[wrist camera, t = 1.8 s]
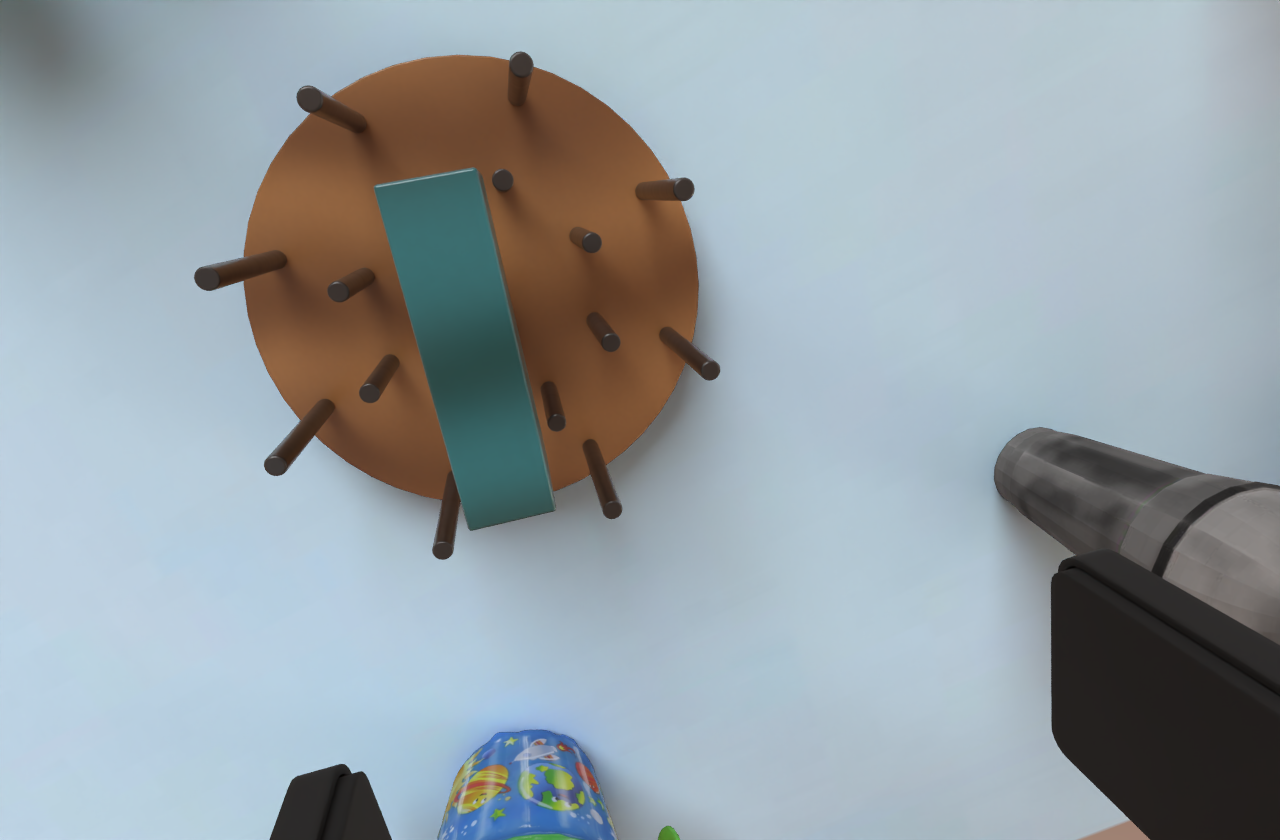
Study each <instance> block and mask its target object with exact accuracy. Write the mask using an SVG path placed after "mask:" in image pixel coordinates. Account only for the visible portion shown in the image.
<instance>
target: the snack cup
mask: <svg viewBox="0 0 1280 840" xmlns="http://www.w3.org/2000/svg"><path fill="white" fill-rule="evenodd" d="M380 811H381V810H380ZM438 840H618V838H617V835H616V832H615V829H614V826H613V823H612V820H611V817H610V814H609V811H608V809H607V806H606V805H605V803H604V799H603V794H602V791H601V788H600V785H599V783H598V781H597V779H596V776H595V774H594V770H593V767H592V765H591V763H590V761H589V759H588V758H587V756H586V755H585V753H583V752H582V750H581V749H580V748H579V747H578V746H577V744H576V742H575V741H574V740H573V739H571V738H569V737H567V736H565V735H556V734H554V733H552V732H550V731H545V730H525V731H521V732H516V733H515V732H499V733H497V734H495V735H494V736H493V737H492V739H491V740H490V741H489V742H488V743H486V744H485V745H483V746H482V747H480V748H479V749H478V750H476V751H475V752H474V753H473V754H472V756H471V757H470V758H469V759H468V760H467V761H466V762H465V764H464V765H463V766H462V768H461V769H460V770H459V772H458V774H457V776H456V778H455V781H454V783H453V787H452V790H451V794H450V797H449V801H448V804H447V807H446V811H445V814H444V817H443V821H442V825H441V829H440V831H439V835H438ZM658 840H680V838H679V836H678V834H677V833H676V831H675V830H674V828H672V827H671V826H666V827H664V828H663V829H662V830H661V832H660V834H659V837H658Z"/></svg>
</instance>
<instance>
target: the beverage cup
mask: <svg viewBox="0 0 1280 840" xmlns="http://www.w3.org/2000/svg"><path fill="white" fill-rule="evenodd" d="M994 480H995V483H996V487H997V490H998V491H999V493H1000V494H1001V495H1002V497H1003V498H1005V499H1006V500H1008V501H1010V502H1011V504H1012V505H1014V506H1015V507H1016V508H1017V509H1018V510H1019V511H1020V513H1022V514H1023V515H1024V516H1026V517H1027V518H1028V519H1030V520H1031V521H1032V522H1034V523H1035V524H1036V525H1037V526H1039V527H1040V528H1041V529H1043V530H1044V531H1045V532H1047V533H1048V534H1049V535H1051V536H1052V537H1053V538H1054V539H1056V540H1057V541H1058V542H1060V543H1061V544H1062V545H1064V546H1065V547H1066V548H1068V549H1069V550H1070V551H1071V552H1073V553H1074V554H1075V555H1081V554H1084V553H1088V552H1091V551H1095V550H1099V549H1110V550H1113V551H1115V552H1117V553H1119V554H1121V555H1122V556H1124V557H1126V558H1128V559H1129V560H1131V561H1133V562H1135V563H1136V564H1138V565H1140V566H1142V567H1143V568H1145V569H1147V570H1149V571H1150V572H1152V573H1154V574H1156V575H1158V576H1159V577H1161V578H1163V579H1165V580H1166V581H1168V582H1170V583H1172V584H1173V585H1175V586H1177V587H1179V588H1180V589H1182V590H1184V591H1186V592H1187V593H1189V594H1191V595H1193V596H1194V597H1196V598H1198V599H1200V600H1201V601H1203V602H1205V603H1207V604H1208V605H1210V606H1212V607H1214V608H1215V609H1217V610H1219V611H1221V612H1222V613H1224V614H1226V615H1228V616H1229V617H1231V618H1233V619H1235V620H1237V621H1238V622H1240V623H1242V624H1244V625H1245V626H1247V627H1249V628H1251V629H1252V630H1254V631H1256V632H1258V633H1259V634H1261V635H1263V636H1265V637H1266V638H1268V639H1270V640H1272V641H1273V642H1275V643H1277V644H1279V645H1280V486H1278V485H1272V484H1266V483H1260V482H1251V481H1245V480H1240V479H1235V478H1229V477H1224V476H1218V475H1212V474H1205V473H1202V472H1198V471H1195V470H1191V469H1188V468H1185V467H1181V466H1178V465H1175V464H1171V463H1168V462H1165V461H1161V460H1158V459H1154V458H1151V457H1148V456H1144V455H1141V454H1138V453H1134V452H1131V451H1128V450H1124V449H1121V448H1117V447H1114V446H1111V445H1107V444H1104V443H1101V442H1097V441H1094V440H1091V439H1087V438H1084V437H1080V436H1077V435H1073V434H1068V433H1062V432H1057V431H1054V430H1052V429H1047V428H1042V427H1039V428H1033V429H1028V430H1026V431H1024V432H1022V433H1020V434H1018V435H1016V436H1015V437H1014V438H1013V439H1012V440H1011V441H1009V442H1008V443H1007V444H1006V446H1005V447H1004V449H1003V450H1002V452H1001V453H1000V455H999V457H998V460H997V463H996V465H995V475H994Z"/></svg>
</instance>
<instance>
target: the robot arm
mask: <svg viewBox="0 0 1280 840" xmlns="http://www.w3.org/2000/svg"><path fill="white" fill-rule="evenodd" d="M1051 696H1052V732H1053V735H1054V739H1055V741H1056V743H1057V745H1058V747H1059V748H1060V750H1061V751H1062V753H1063V754H1064V755H1065V756H1066V757H1067V758H1068V759H1069V760H1070V761H1071V762H1072V763H1073V764H1074V765H1075V766H1076V767H1077V768H1078V769H1079V770H1080V771H1081V772H1082V773H1083V774H1084V775H1085V776H1086V777H1087V778H1088V779H1089V780H1090V781H1091V782H1092V783H1093V784H1094V785H1095V786H1096V787H1097V788H1098V789H1099V790H1100V791H1101V792H1102V793H1103V794H1104V795H1105V796H1107V797H1108V798H1109V799H1110V800H1111V801H1112V802H1113V803H1114V804H1115V805H1116V806H1117V807H1118V808H1119V809H1120V810H1121V811H1122V812H1123V813H1124V814H1125V815H1126V816H1127V817H1128V818H1129V819H1130V820H1131V821H1132V822H1133V823H1134V824H1135V825H1136V826H1137V827H1138V828H1139V829H1140V830H1141V831H1142V832H1143V833H1144V834H1145V835H1146V836H1147V837H1148V838H1149V839H1150V840H1280V645H1279V644H1277V643H1275V642H1273V641H1272V640H1270V639H1268V638H1266V637H1265V636H1263V635H1261V634H1259V633H1258V632H1256V631H1254V630H1252V629H1251V628H1249V627H1247V626H1245V625H1244V624H1242V623H1240V622H1238V621H1237V620H1235V619H1233V618H1231V617H1229V616H1228V615H1226V614H1224V613H1222V612H1221V611H1219V610H1217V609H1215V608H1214V607H1212V606H1210V605H1208V604H1207V603H1205V602H1203V601H1201V600H1200V599H1198V598H1196V597H1194V596H1193V595H1191V594H1189V593H1187V592H1186V591H1184V590H1182V589H1180V588H1179V587H1177V586H1175V585H1173V584H1172V583H1170V582H1168V581H1166V580H1165V579H1163V578H1161V577H1159V576H1158V575H1156V574H1154V573H1152V572H1150V571H1149V570H1147V569H1145V568H1143V567H1142V566H1140V565H1138V564H1136V563H1135V562H1133V561H1131V560H1129V559H1128V558H1126V557H1124V556H1122V555H1121V554H1119V553H1117V552H1115V551H1113V550H1110V549H1099V550H1095V551H1091V552H1088V553H1084V554H1081V555H1077V556H1074V557H1070V558H1067V559H1065V560H1063V561H1062V562H1061V564H1060V565H1059V569H1058V573H1056V574H1054V576H1053V577H1052V581H1051ZM270 840H392V839H391V836H390V834H389V831H388V829H387V826H386V823H385V821H384V818H383V816H382V813H381V811H380V808H379V806H378V803H377V800H376V798H375V795H374V793H373V790H372V788H371V785H370V783H369V780H368V778H367V776H366V774H365V773H364V772H357V773H353V774H352V773H351V771H350V769H349V768H348V767H347V766H346V765H345V764H339V765H336V766H332V767H328V768H325V769H321V770H318V771H314V772H311V773H307V774H304V775H300V776H297V777H295V778H294V779H293V780H292V781H291V783H290V785H289V787H288V790H287V793H286V795H285V798H284V801H283V804H282V807H281V809H280V812H279V815H278V818H277V820H276V823H275V826H274V829H273V832H272V834H271V837H270Z"/></svg>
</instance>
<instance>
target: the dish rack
mask: <svg viewBox="0 0 1280 840" xmlns="http://www.w3.org/2000/svg"><path fill="white" fill-rule="evenodd" d="M297 102H298V104H299V106H300V107H301V108H302V109H303V110H304V111H306V112H309V113H310V114H309V115H308V117H307V118H306V119H305V120H304V121H303V122H302V123H301V124H300V125H299V126H298V127H297V128H296V130H295V131H294V132H293V133H292V134H291V135H290V136H289V137H288V139H287V140H286V142H285V143H284V145H283V146H282V148H281V149H280V151H279V152H278V154H277V155H276V157H275V158H274V160H273V161H272V163H271V164H270V167H269V169H268V171H267V173H266V175H265V177H264V179H263V181H262V183H261V186H260V188H259V190H258V192H257V195H256V199H255V202H254V205H253V208H252V212H251V215H250V218H249V222H248V228H247V235H246V242H245V248H244V257H243V258H238V259H234V260H230V261H226V262H221V263H217V264H213V265H208V266H204V267H201V268H199V269H197V271H196V272H195V275H194V279H195V282H196V284H197V285H198V286H199V287H200V288H201V289H203V290H207V291H212V290H216V289H219V288H222V287H225V286H228V285H231V284H234V283H237V282H240V281H244V290H245V297H246V305H247V312H248V317H249V321H250V324H251V328H252V331H253V335H254V339H255V342H256V345H257V348H258V350H259V352H260V355H261V357H262V359H263V362H264V364H265V366H266V369H267V371H268V373H269V375H270V377H271V378H272V380H273V382H274V383H275V385H276V387H277V388H278V390H279V392H280V393H281V395H282V397H283V398H284V400H285V401H286V402H287V404H288V405H289V406H290V407H291V409H292V410H293V411H294V413H295V414H296V415H297V416H298V418H299V419H300V420H301V421H300V422H299V423H298V424H297V425H296V427H295V428H294V429H293V430H292V431H291V432H290V433H289V434H288V435H287V437H286V438H285V439H284V440H283V441H282V442H281V443H280V444H279V445H278V446H277V448H276V449H275V450H274V451H273V452H272V453H271V454H270V455H269V456H268V458H267V459H266V460H265V462H264V467H265V470H266V471H267V472H268V473H269V474H271V475H274V476H280V475H282V474H284V473H285V472H286V471H287V470H288V468H289V467H290V466H291V465H292V463H293V462H294V461H295V460H296V458H297V457H298V456H299V454H300V453H301V452H302V451H303V449H304V448H305V447H306V446H307V444H308V443H309V442H310V441H311V439H312V438H313V437H314V436H316V437H317V438H318V439H319V440H320V441H321V442H322V443H323V444H325V445H326V446H327V447H328V448H330V449H331V450H332V451H334V452H335V453H336V454H337V455H339V456H340V457H341V458H343V459H344V460H345V461H346V462H348V463H350V464H351V465H353V466H355V467H356V468H358V469H360V470H361V471H363V472H365V473H366V474H368V475H370V476H371V477H374V478H376V479H378V480H380V481H383V482H385V483H387V484H389V485H391V486H394V487H396V488H399V489H402V490H405V491H408V492H411V493H415V494H418V495H421V496H424V497H429V498H435V499H440V500H442V504H441V509H440V514H439V519H438V524H437V529H436V534H435V539H434V544H433V549H432V552H433V554H434V556H435V557H436V558H438V559H442V560H443V559H447V558H449V557H450V556H451V555H452V554H453V550H454V543H455V536H456V529H457V521H458V514H459V507H460V502H461V504H462V507H463V511H464V515H465V518H466V522H467V525H468V529H469V530H470V531H472V530H477V529H481V528H485V527H489V526H494V525H498V524H502V523H506V522H510V521H515V520H519V519H523V518H527V517H532V516H536V515H540V514H544V513H548V512H553V511H555V510H556V505H555V499H554V493H553V491H556V490H559V489H561V488H564V487H566V486H568V485H570V484H573V483H575V482H577V481H580V480H582V479H584V478H585V477H587V476H589V475H591V477H592V480H593V483H594V486H595V489H596V492H597V495H598V499H599V502H600V505H601V508H602V511H603V514H604V516H605V517H607V518H609V519H615V518H617V517H619V516H620V514H621V513H622V505H621V503H620V500H619V498H618V495H617V493H616V490H615V487H614V485H613V482H612V480H611V477H610V474H609V472H608V469H607V467H606V465H607V464H608V463H610V462H611V461H612V460H613V459H615V458H616V457H617V456H619V455H620V454H621V453H623V452H624V451H625V450H626V449H627V448H628V447H629V446H630V445H631V444H632V443H633V442H634V441H635V440H636V439H637V438H639V437H640V436H641V435H642V434H643V433H644V432H645V430H646V429H647V428H648V426H649V425H650V424H651V423H652V421H653V420H654V419H655V418H656V416H657V415H658V414H659V413H660V411H661V410H662V408H663V406H664V405H665V403H666V401H667V400H668V398H669V397H670V395H671V393H672V392H673V390H674V388H675V386H676V384H677V381H678V379H679V377H680V375H681V372H682V370H683V368H684V366H685V363H687V364H688V365H689V366H690V367H691V368H693V369H694V370H695V371H696V372H697V373H698V374H699V375H700V376H701V377H703V378H704V379H705V380H709V381H710V380H714V379H716V378H717V377H718V375H719V373H720V366H719V364H718V363H717V362H715V361H714V360H713V359H711V358H710V357H709V356H708V355H706V354H705V353H704V352H702V351H701V350H700V349H699V348H697V347H696V346H695V345H693V344H692V340H693V335H694V329H695V323H696V317H697V310H698V287H699V283H698V271H697V259H696V253H695V248H694V243H693V239H692V234H691V229H690V226H689V223H688V220H687V217H686V215H685V212H684V209H683V206H682V203H681V201H687V200H689V199H690V198H691V197H692V196H693V194H694V184H693V183H692V181H691V180H690V179H688V178H676V179H670V178H669V176H668V174H667V173H666V171H665V170H664V168H663V167H662V165H661V164H660V162H659V161H658V159H657V158H656V156H655V155H654V153H653V152H652V150H651V149H650V148H649V147H648V146H647V144H646V143H645V142H644V141H643V140H642V139H641V137H640V136H639V135H638V134H637V133H636V132H635V131H634V129H633V128H632V127H631V126H630V125H629V124H628V123H627V122H625V121H624V120H623V119H622V118H621V117H620V116H619V115H618V114H616V113H615V112H614V111H613V110H612V109H611V108H610V107H609V106H607V105H606V104H604V103H603V102H602V101H600V100H599V99H597V98H596V97H594V96H593V95H591V94H590V93H588V92H587V91H585V90H584V89H582V88H581V87H579V86H577V85H575V84H573V83H571V82H569V81H567V80H565V79H563V78H561V77H559V76H557V75H555V74H553V73H550V72H547V71H544V70H541V69H538V68H536V67H533V61H532V59H531V57H530V56H529V55H528V54H527V53H525V52H516V53H514V54H513V55H512V56H511V58H510V60H505V59H500V58H495V57H488V56H470V55H450V56H438V57H426V58H421V59H417V60H413V61H409V62H404V63H400V64H396V65H392V66H390V67H387V68H385V69H382V70H380V71H377V72H375V73H372V74H370V75H367V76H365V77H363V78H361V79H359V80H357V81H356V82H354V83H352V84H350V85H349V86H347V87H345V88H344V89H342V90H340V91H338V92H337V93H335V94H334V95H333V96H329V95H327V94H325V93H324V92H322V91H320V90H319V89H317V88H315V87H313V86H303V87H302V88H300V89H299V91H298V93H297Z"/></svg>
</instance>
